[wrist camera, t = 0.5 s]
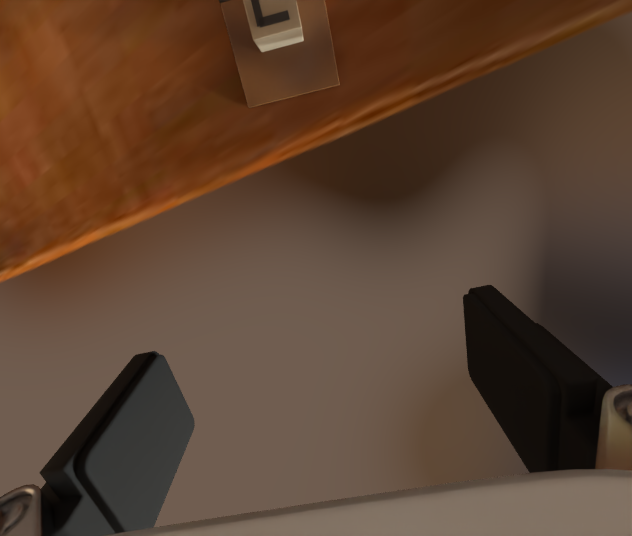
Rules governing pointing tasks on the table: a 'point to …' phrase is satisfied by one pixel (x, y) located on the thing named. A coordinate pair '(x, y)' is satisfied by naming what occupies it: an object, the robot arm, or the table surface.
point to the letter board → (283, 55)
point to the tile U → (274, 23)
